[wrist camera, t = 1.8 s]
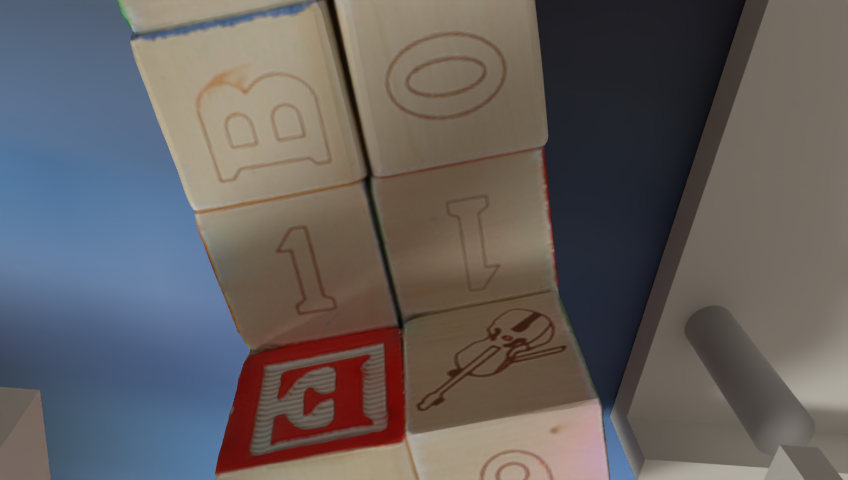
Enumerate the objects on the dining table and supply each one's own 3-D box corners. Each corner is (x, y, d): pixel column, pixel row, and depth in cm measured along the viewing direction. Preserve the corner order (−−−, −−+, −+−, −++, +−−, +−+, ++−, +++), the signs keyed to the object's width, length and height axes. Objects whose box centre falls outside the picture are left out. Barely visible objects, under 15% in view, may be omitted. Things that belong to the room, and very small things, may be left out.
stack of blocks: (199, -172, 18) (-107, -238, 7) (452, -224, 17) (565, -379, 6) (378, 464, 27) (372, 860, 16) (540, 437, 27) (645, 821, 16)
